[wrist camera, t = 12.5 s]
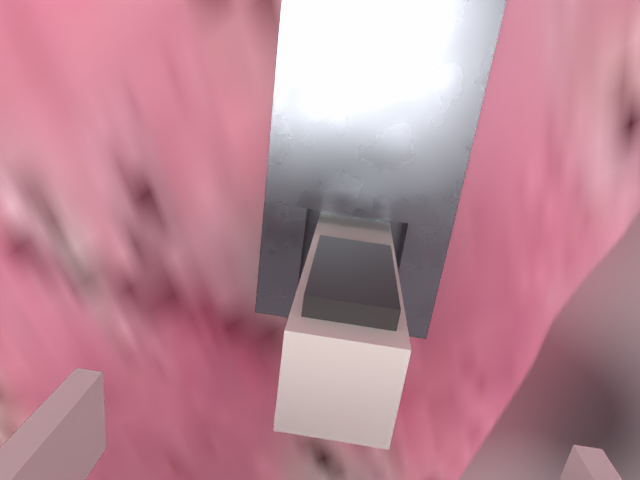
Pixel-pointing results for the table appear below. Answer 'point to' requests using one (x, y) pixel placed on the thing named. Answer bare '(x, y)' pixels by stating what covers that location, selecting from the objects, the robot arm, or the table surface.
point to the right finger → (345, 337)
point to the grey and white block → (373, 133)
